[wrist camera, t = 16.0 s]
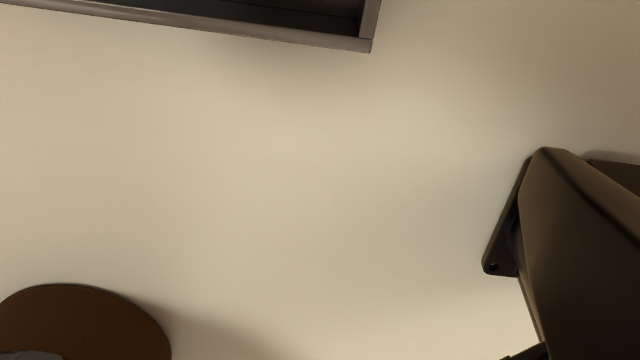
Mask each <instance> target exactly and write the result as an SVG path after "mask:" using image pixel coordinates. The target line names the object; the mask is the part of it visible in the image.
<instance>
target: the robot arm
mask: <svg viewBox="0 0 640 360" xmlns="http://www.w3.org/2000/svg"><path fill="white" fill-rule="evenodd" d="M493 263H496V264H494V265H491V264H493ZM481 264H482V267H483V270H484V272H485V273H486V274H489V275H497V276H506V277H515V278H518V281H519V284H520V287H521V290H522V293H523V296H524V299H525V302H526V304H527V307H528V310H529V313H530V316H531V319H532V322H533V325H534V328H535V331H536V333H537V336H538V339H539V342H540V343H538V344H536V345H534V346H532V347H530V348H528V349H526V350H524V351H522V352H520V353H518V354H516V355H514V356H512V357H510V356H506V357H504V358H502V359H500V360H640V165H632V164H624V163H616V162H608V161H600V160H592V159H589V160H582V159H580V158H579V157H577V156H576V155H574V154H572V153H571V152H569V151H568V150H565V149H560V148H552V147H541V148H539V149H537V151H536V152H535V153H534V155H533V156H532V157H530V158H529V159H527V160H526V162H525V163H524V165H523V167H522V170H521V172H520V174H519V176H518V179H517V181H516V183H515V185H514V188H513V190H512V192H511V194H510V197H509V199H508V201H507V203H506V206H505V208H504V210H503V213H502V215H501V217H500V219H499V222H498V224H497V226H496V228H495V231H494V233H493V235H492V237H491V240H490V242H489V244H488V246H487V249H486V251H485V253H484V256H483V258H482V261H481Z"/></svg>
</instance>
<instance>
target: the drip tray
mask: <svg viewBox="0 0 640 360" xmlns="http://www.w3.org/2000/svg"><path fill="white" fill-rule="evenodd" d="M381 1H382V0H0V3H4V4H11V5H18V6H26V7H33V8H40V9H48V10H55V11H62V12H69V13H77V14H84V15H91V16H99V17H106V18H113V19H121V20H128V21H135V22H143V23H150V24H157V25H165V26H172V27H179V28H187V29H194V30H201V31H208V32H216V33H223V34H230V35H238V36H245V37H252V38H260V39H267V40H274V41H282V42H289V43H296V44H304V45H311V46H318V47H326V48H333V49H340V50H347V51H355V52H362V53H370V52H371V48H372V43H373V38H374V34H375V29H376V24H377V20H378V15H379V10H380V6H381Z"/></svg>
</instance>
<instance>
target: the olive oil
mask: <svg viewBox="0 0 640 360" xmlns="http://www.w3.org/2000/svg"><path fill="white" fill-rule="evenodd" d="M0 360H171V347H170V343H169V341H168V338H167V336H166V335H165V333H164V332H163V330H162V329H161V328H160V326H159V325H158V324H157V323H156V322H155V321H154V320H153V319H152V318H151V317H150V316H149V315H147V314H146V313H145V312H143V311H142V310H141V309H139V308H138V307H136V306H134V305H133V304H131V303H129V302H127V301H125V300H123V299H121V298H118V297H116V296H113V295H111V294H108V293H105V292H101V291H98V290H94V289H89V288H84V287H77V286H65V285H53V286H42V287H36V288H31V289H27V290H24V291H21V292H18V293H16V294H14V295H12V296H10V297H8V298H7V299H5V300H4V301H3V302H1V303H0Z"/></svg>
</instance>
